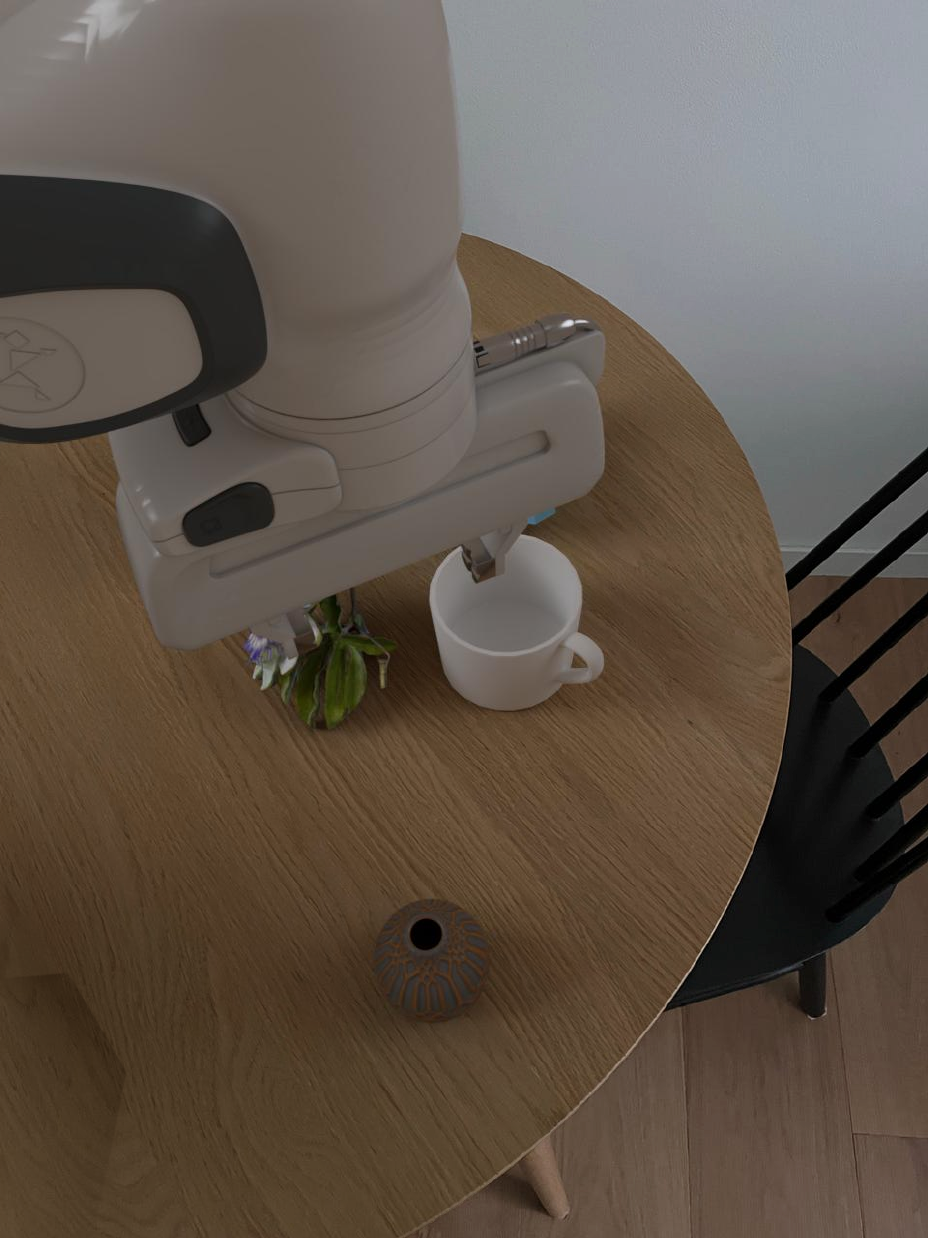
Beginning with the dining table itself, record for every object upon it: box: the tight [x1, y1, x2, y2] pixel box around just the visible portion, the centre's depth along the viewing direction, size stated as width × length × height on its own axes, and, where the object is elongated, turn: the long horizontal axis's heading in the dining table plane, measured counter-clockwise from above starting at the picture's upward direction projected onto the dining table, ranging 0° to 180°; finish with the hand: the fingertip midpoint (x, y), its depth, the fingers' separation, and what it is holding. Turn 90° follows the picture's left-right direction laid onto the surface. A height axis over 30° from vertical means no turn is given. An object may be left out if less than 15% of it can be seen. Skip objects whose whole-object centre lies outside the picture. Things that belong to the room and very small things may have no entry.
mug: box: [428, 533, 605, 712], centre depth 75 cm, size 13×10×8 cm
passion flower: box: [242, 587, 398, 731], centre depth 76 cm, size 11×11×12 cm
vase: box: [373, 898, 491, 1025], centre depth 63 cm, size 7×7×9 cm
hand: (392, 605), depth 50 cm, fingers open, 8 cm apart
